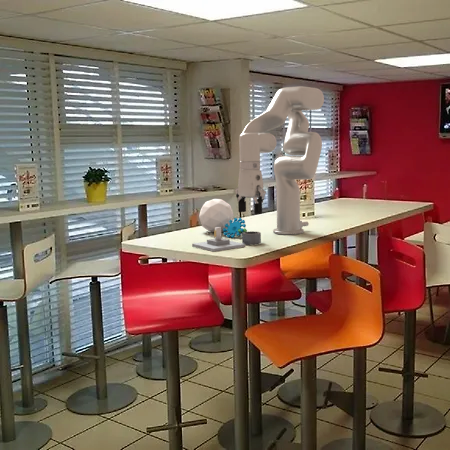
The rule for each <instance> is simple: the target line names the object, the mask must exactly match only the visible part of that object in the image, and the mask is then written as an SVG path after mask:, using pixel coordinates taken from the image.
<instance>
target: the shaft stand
mask: <svg viewBox="0 0 450 450" xmlns="http://www.w3.org/2000/svg"><path fill="white" fill-rule="evenodd" d="M213 234H214V235H213V237H214V238H210V239H206V241H202V242H194V243H191V246H192V247H194V248H197V249H201V250H202V249H203V250H204V251H205V250H206V251H210V252H219V251H226V250H231V249H232V250H234V249H240V248H245V247H246V245H245V244H243V243H242V242H237V241H233V240H230V239H229V238H224V237H223V238H222V232H221V227H216V228H215V230H214V232H213Z"/></svg>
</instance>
